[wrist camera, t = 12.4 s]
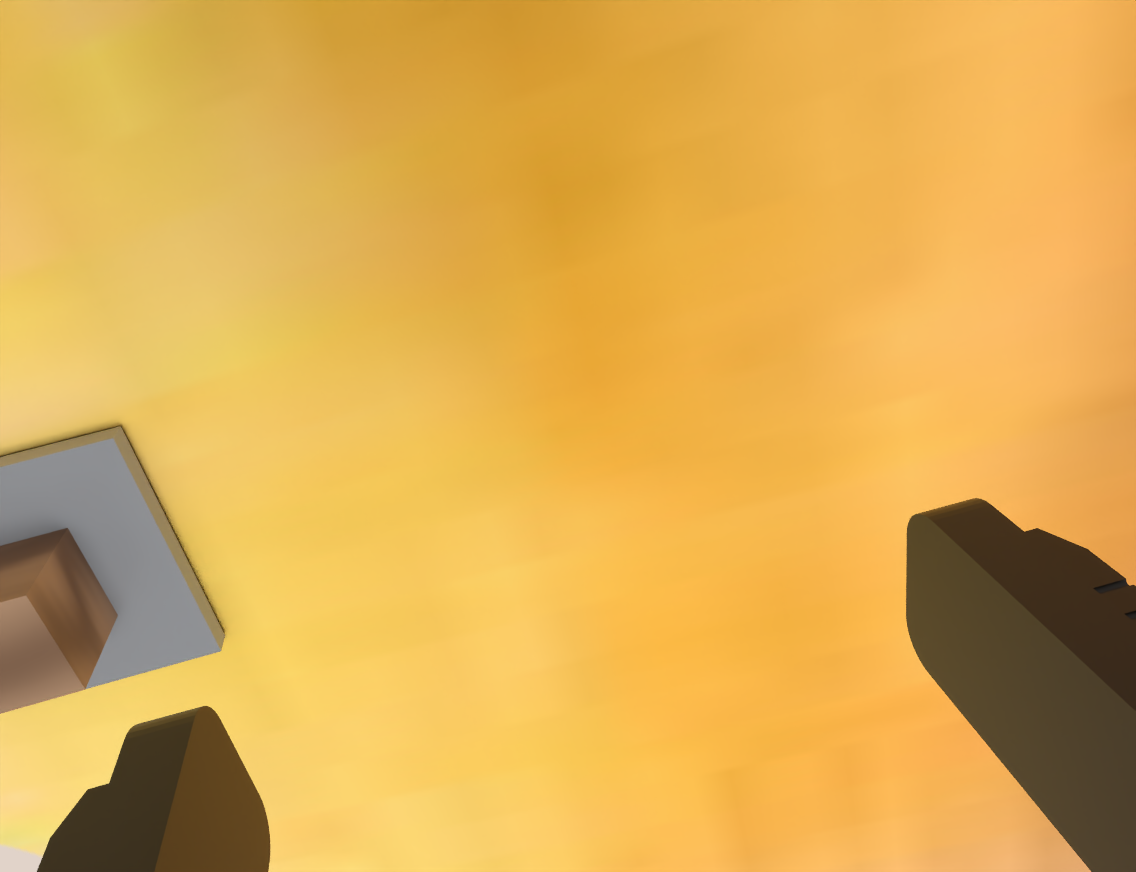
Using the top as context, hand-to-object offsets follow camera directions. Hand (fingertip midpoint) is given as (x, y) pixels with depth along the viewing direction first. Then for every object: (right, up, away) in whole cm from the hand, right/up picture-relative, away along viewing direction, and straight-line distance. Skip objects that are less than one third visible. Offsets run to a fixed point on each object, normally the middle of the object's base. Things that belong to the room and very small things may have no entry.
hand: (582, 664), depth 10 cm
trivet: (-24, -4, +30) cm, 39 cm away
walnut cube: (-24, -4, +29) cm, 38 cm away
